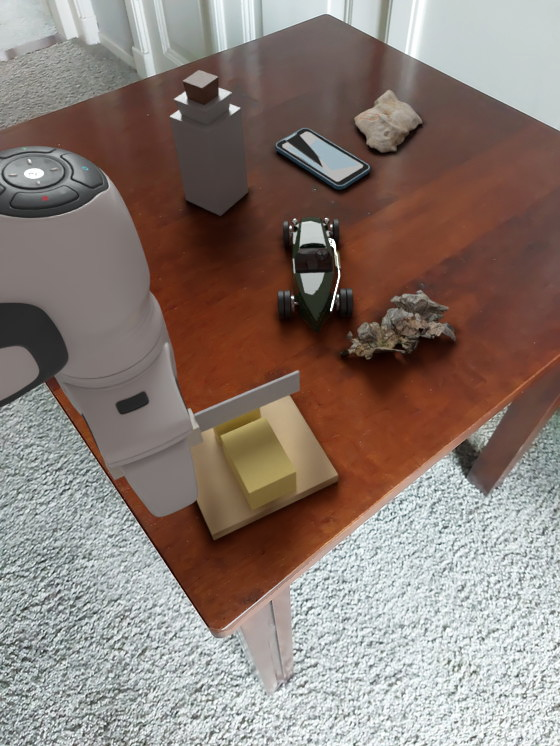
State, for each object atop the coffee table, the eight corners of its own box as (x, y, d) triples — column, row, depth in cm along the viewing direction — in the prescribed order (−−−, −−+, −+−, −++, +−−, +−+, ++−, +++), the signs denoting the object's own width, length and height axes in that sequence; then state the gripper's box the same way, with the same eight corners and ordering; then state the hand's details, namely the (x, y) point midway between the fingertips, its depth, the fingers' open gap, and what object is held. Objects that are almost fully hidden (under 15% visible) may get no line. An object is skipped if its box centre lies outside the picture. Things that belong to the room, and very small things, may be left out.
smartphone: (339, 188, 89) (272, 144, 95) (339, 193, 90) (272, 150, 96) (373, 166, 92) (305, 126, 98) (372, 172, 92) (305, 131, 99)
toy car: (342, 229, 85) (344, 201, 81) (354, 338, 73) (357, 311, 69) (277, 231, 85) (276, 203, 81) (278, 340, 73) (277, 314, 69)
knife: (114, 480, 55) (104, 464, 53) (107, 460, 57) (97, 443, 54) (304, 398, 60) (304, 380, 57) (294, 380, 61) (293, 362, 59)
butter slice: (219, 445, 63) (215, 426, 60) (214, 434, 64) (209, 415, 61) (262, 427, 64) (260, 407, 61) (256, 416, 65) (254, 396, 62)
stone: (385, 101, 104) (387, 84, 102) (436, 123, 99) (439, 107, 97) (335, 133, 99) (336, 117, 96) (386, 159, 94) (388, 143, 92)
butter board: (213, 540, 59) (211, 535, 57) (168, 438, 66) (166, 431, 64) (337, 481, 62) (338, 474, 61) (282, 389, 69) (282, 382, 68)
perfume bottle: (214, 176, 93) (197, 60, 78) (248, 191, 90) (237, 74, 76) (185, 199, 90) (163, 83, 75) (220, 216, 87) (203, 98, 73)
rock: (323, 332, 74) (323, 311, 71) (426, 292, 77) (431, 270, 74) (357, 381, 69) (359, 361, 66) (465, 336, 73) (472, 315, 69)
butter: (251, 510, 59) (248, 493, 55) (224, 454, 62) (219, 435, 59) (297, 489, 60) (296, 471, 57) (267, 435, 64) (265, 415, 60)
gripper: (39, 280, 49) (89, 376, 61) (110, 480, 38) (155, 552, 50) (112, 255, 51) (148, 353, 62) (200, 440, 40) (224, 519, 51)
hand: (151, 443), depth 56 cm, fingers closed on knife, 2 cm apart
